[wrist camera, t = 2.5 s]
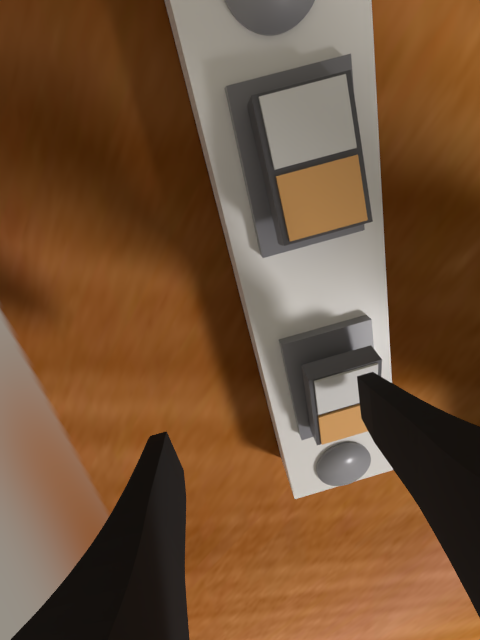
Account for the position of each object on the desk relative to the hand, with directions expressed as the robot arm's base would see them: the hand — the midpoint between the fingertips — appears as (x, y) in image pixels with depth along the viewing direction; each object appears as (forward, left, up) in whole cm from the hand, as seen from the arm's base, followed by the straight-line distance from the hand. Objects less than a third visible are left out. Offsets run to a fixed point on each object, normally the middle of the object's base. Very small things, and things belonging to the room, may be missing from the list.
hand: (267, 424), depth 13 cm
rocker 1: (+8, -4, -2) cm, 9 cm away
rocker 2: (-2, -4, -2) cm, 5 cm away
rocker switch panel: (+3, -4, -6) cm, 8 cm away
